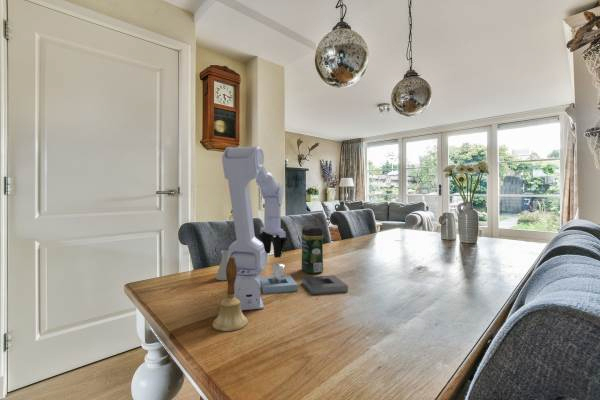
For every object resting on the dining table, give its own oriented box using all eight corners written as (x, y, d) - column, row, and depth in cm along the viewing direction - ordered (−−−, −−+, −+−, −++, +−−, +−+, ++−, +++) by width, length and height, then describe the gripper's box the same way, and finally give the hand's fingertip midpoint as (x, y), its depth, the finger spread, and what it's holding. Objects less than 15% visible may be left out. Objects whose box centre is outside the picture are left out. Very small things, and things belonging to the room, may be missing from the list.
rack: (297, 290, 92) (297, 284, 92) (263, 293, 89) (263, 287, 89) (290, 280, 103) (290, 275, 103) (259, 282, 100) (259, 277, 100)
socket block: (347, 291, 92) (347, 285, 92) (312, 294, 89) (312, 288, 89) (333, 280, 103) (334, 275, 103) (302, 282, 100) (302, 277, 100)
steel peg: (285, 288, 94) (285, 265, 94) (272, 288, 94) (273, 266, 94) (283, 284, 98) (284, 262, 98) (272, 285, 98) (272, 263, 98)
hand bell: (233, 313, 75) (233, 252, 74) (255, 322, 69) (255, 257, 69) (205, 324, 68) (205, 257, 68) (226, 335, 63) (226, 263, 63)
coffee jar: (299, 268, 119) (299, 224, 119) (316, 267, 122) (317, 224, 121) (306, 275, 110) (307, 227, 110) (325, 273, 112) (326, 226, 112)
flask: (237, 275, 108) (238, 249, 108) (231, 281, 101) (231, 253, 101) (219, 275, 109) (219, 249, 109) (212, 280, 102) (212, 252, 102)
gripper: (293, 218, 97) (292, 257, 98) (272, 215, 109) (272, 250, 110) (275, 219, 93) (274, 260, 94) (255, 215, 105) (255, 252, 106)
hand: (272, 255), depth 101 cm, fingers open, 7 cm apart
